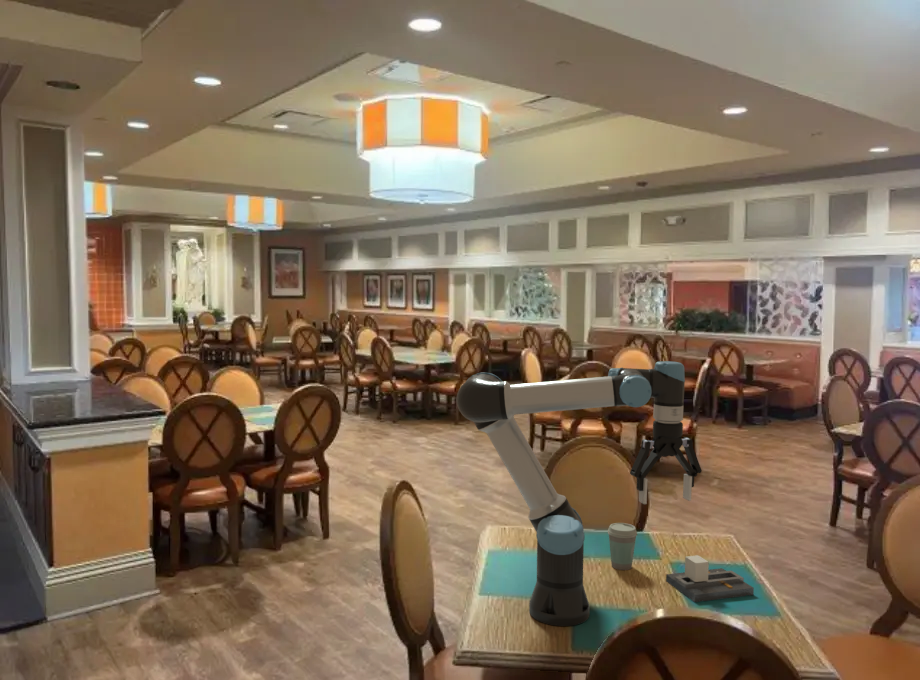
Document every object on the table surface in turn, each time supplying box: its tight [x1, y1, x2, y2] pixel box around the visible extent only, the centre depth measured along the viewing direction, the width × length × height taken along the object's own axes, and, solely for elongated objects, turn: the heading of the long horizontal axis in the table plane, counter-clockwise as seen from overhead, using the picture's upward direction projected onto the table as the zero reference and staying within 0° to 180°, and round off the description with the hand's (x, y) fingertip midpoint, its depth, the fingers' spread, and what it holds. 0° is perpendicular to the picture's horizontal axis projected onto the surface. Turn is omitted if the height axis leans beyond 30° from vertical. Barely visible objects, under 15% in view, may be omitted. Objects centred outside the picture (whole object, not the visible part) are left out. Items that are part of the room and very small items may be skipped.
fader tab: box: [684, 554, 710, 582], centre depth 198 cm, size 4×5×6 cm
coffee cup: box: [607, 522, 638, 571], centre depth 214 cm, size 8×9×12 cm
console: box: [665, 567, 755, 603], centre depth 199 cm, size 18×14×3 cm
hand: (665, 501), depth 191 cm, fingers open, 12 cm apart
